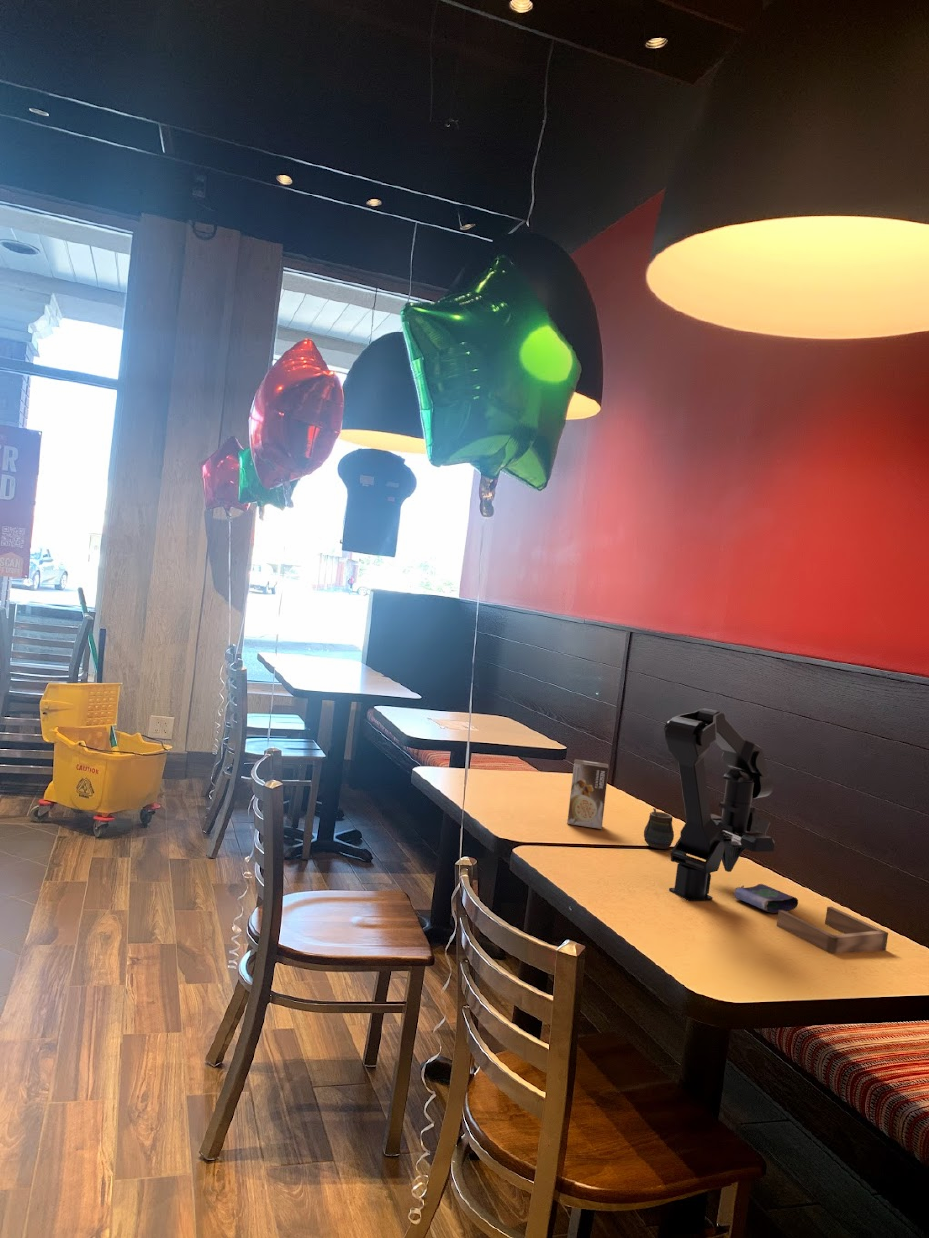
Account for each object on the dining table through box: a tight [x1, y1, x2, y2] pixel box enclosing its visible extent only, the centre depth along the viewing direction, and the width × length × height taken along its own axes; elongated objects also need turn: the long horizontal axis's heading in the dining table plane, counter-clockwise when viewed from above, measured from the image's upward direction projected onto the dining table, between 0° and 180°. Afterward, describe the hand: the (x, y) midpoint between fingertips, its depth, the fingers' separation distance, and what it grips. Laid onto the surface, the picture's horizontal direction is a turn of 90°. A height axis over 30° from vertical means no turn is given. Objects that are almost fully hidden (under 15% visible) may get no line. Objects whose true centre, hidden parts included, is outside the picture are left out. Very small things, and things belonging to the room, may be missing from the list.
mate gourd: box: [643, 807, 675, 850], centre depth 226 cm, size 7×8×10 cm
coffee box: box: [566, 758, 610, 830], centre depth 239 cm, size 9×6×16 cm
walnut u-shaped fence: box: [776, 906, 889, 955], centre depth 174 cm, size 14×13×4 cm
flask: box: [733, 883, 799, 914], centre depth 189 cm, size 9×3×11 cm
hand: (728, 871), depth 199 cm, fingers closed
